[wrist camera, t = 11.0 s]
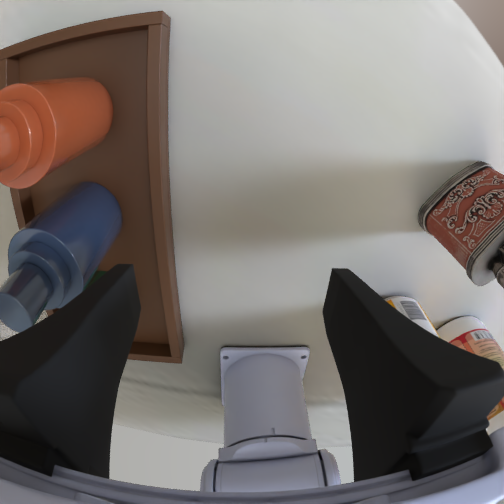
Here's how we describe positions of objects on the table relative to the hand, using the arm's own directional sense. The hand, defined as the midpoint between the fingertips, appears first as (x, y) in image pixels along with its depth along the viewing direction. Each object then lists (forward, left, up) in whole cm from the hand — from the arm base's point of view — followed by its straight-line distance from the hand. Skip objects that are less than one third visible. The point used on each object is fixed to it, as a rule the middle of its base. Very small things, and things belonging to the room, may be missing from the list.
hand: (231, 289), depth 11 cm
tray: (-2, +10, -10) cm, 15 cm away
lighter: (+1, -17, -11) cm, 20 cm away
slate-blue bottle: (-2, +10, -10) cm, 14 cm away
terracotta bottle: (+6, +10, -10) cm, 15 cm away
